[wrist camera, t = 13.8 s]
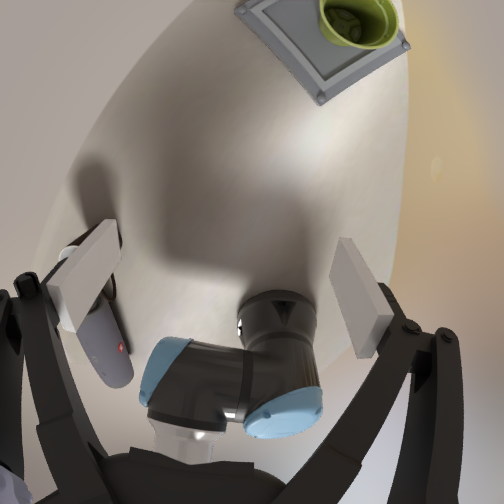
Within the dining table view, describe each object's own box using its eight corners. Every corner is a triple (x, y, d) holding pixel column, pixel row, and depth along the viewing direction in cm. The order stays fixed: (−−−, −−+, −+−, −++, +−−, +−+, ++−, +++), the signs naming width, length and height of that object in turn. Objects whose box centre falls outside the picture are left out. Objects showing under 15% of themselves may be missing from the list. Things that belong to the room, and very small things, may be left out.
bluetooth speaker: (141, 360, 63) (130, 393, 54) (108, 355, 63) (95, 386, 54) (116, 286, 51) (96, 321, 43) (78, 283, 51) (56, 315, 43)
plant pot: (298, 44, 30) (311, 30, 22) (313, -10, 25) (328, -33, 18) (363, 67, 31) (390, 62, 24) (376, 14, 26) (404, 0, 19)
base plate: (406, 49, 30) (413, 47, 28) (317, 105, 36) (321, 106, 34) (331, -40, 23) (335, -46, 21) (234, 13, 29) (233, 8, 27)
